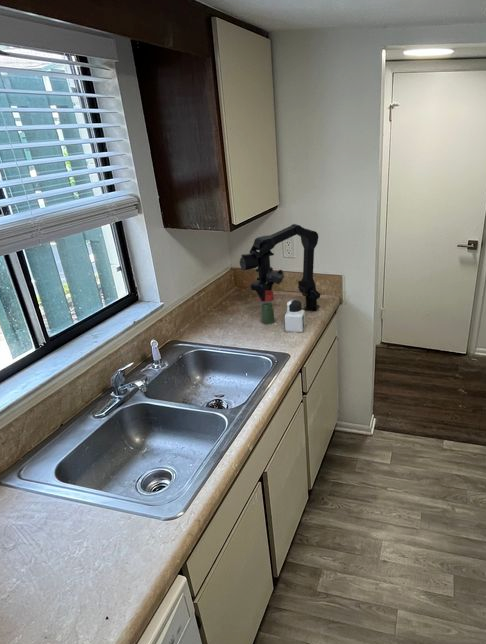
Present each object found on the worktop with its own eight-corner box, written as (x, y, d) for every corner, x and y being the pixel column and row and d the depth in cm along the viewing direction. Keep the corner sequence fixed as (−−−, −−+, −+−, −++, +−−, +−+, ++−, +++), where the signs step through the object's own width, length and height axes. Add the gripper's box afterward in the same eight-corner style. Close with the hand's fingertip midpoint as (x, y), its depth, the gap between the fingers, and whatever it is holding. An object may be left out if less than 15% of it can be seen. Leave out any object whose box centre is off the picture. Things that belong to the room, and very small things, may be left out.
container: (305, 325, 201) (304, 298, 196) (302, 332, 194) (301, 305, 189) (288, 324, 202) (287, 298, 197) (285, 331, 195) (283, 304, 190)
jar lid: (270, 302, 197) (269, 295, 196) (256, 301, 198) (256, 294, 197) (275, 297, 203) (275, 290, 202) (262, 296, 204) (262, 289, 203)
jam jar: (265, 318, 208) (263, 299, 204) (276, 319, 207) (275, 301, 203) (260, 323, 203) (258, 304, 199) (271, 324, 202) (270, 305, 198)
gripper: (272, 273, 184) (275, 307, 190) (288, 261, 201) (289, 293, 207) (248, 271, 187) (251, 305, 193) (265, 259, 203) (268, 291, 210)
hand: (266, 298), depth 201 cm, fingers closed on jar lid, 6 cm apart
